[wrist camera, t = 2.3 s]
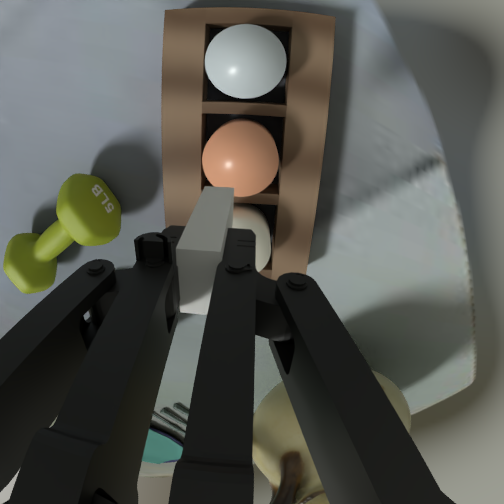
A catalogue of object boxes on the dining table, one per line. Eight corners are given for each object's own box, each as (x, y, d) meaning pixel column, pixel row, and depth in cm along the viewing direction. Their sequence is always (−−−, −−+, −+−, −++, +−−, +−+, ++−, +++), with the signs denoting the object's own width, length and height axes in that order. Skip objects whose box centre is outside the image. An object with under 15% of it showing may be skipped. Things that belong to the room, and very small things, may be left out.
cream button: (208, 200, 31) (202, 217, 27) (271, 203, 31) (273, 221, 27) (209, 254, 34) (203, 276, 30) (267, 257, 34) (268, 280, 30)
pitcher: (404, 386, 48) (441, 513, 26) (285, 430, 55) (289, 550, 33) (367, 304, 39) (426, 491, 17) (214, 369, 46) (194, 531, 24)
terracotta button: (209, 117, 27) (202, 122, 23) (278, 120, 27) (281, 126, 23) (208, 180, 30) (202, 195, 26) (273, 183, 30) (275, 198, 26)
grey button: (213, 31, 23) (206, 23, 19) (284, 34, 23) (288, 26, 19) (210, 95, 26) (203, 97, 22) (279, 98, 26) (283, 101, 22)
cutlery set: (86, 424, 59) (83, 432, 57) (171, 393, 50) (169, 403, 48) (149, 460, 67) (148, 467, 65) (242, 437, 58) (242, 447, 56)
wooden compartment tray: (173, 16, 23) (165, 10, 20) (328, 22, 23) (335, 16, 20) (175, 261, 36) (170, 276, 33) (301, 268, 36) (304, 283, 33)
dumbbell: (96, 158, 30) (60, 179, 24) (138, 216, 33) (113, 249, 27) (20, 231, 34) (-12, 259, 28) (55, 276, 38) (29, 309, 31)
